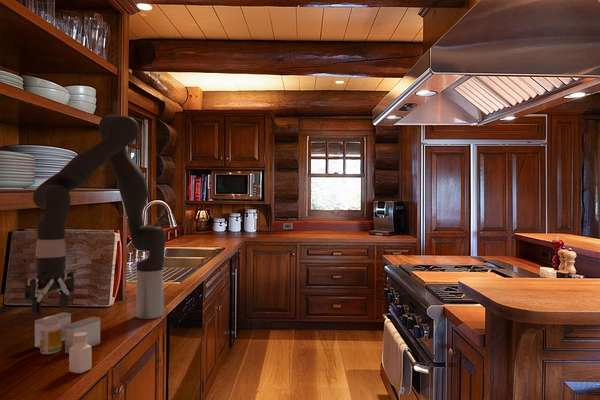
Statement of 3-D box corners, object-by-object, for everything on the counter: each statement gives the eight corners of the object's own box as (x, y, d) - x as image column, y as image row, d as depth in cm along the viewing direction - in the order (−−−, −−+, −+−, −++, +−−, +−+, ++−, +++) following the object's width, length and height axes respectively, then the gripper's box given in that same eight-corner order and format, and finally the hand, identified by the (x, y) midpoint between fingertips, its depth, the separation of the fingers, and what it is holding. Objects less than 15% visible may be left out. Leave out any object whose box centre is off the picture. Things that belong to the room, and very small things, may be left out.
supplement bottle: (65, 348, 133) (65, 315, 133) (55, 354, 128) (55, 320, 128) (46, 348, 133) (46, 315, 133) (36, 354, 128) (36, 320, 128)
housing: (63, 336, 143) (63, 312, 143) (100, 343, 138) (100, 317, 138) (34, 346, 134) (34, 320, 134) (73, 354, 129) (73, 326, 128)
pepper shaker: (68, 372, 116) (68, 335, 116) (81, 366, 120) (81, 330, 119) (79, 374, 114) (79, 337, 114) (92, 369, 118) (92, 332, 118)
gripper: (62, 251, 138) (61, 304, 138) (18, 256, 125) (17, 315, 125) (81, 252, 135) (80, 307, 135) (38, 258, 122) (37, 318, 122)
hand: (50, 311), depth 130 cm, fingers open, 8 cm apart
